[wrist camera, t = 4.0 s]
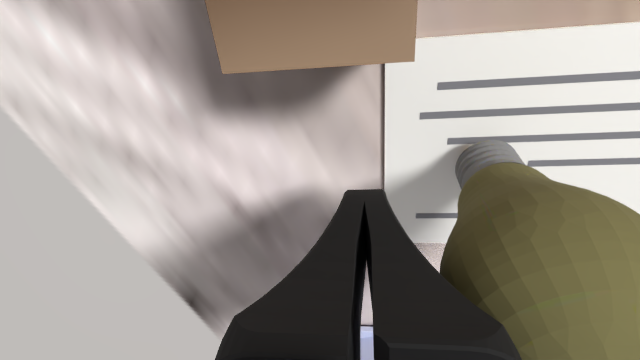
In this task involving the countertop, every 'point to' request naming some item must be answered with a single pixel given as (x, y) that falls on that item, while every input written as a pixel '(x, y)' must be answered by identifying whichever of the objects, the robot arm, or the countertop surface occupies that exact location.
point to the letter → (512, 115)
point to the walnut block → (311, 33)
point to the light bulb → (545, 259)
